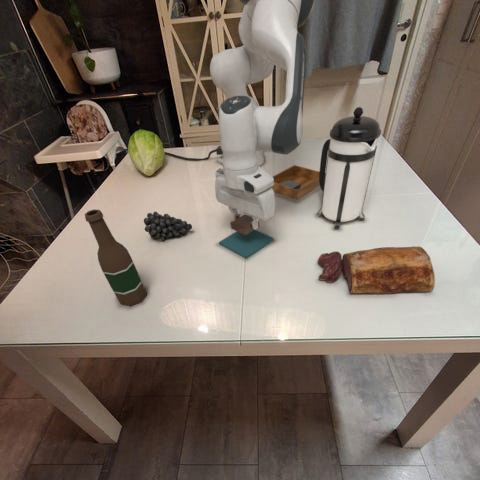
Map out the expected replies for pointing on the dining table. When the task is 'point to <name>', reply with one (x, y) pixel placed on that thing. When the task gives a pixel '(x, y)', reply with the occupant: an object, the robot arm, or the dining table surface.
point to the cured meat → (381, 270)
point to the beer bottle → (116, 262)
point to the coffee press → (347, 166)
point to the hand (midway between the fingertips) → (245, 224)
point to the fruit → (165, 226)
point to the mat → (246, 242)
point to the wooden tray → (299, 175)
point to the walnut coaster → (243, 224)
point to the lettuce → (146, 151)
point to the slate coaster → (292, 184)
